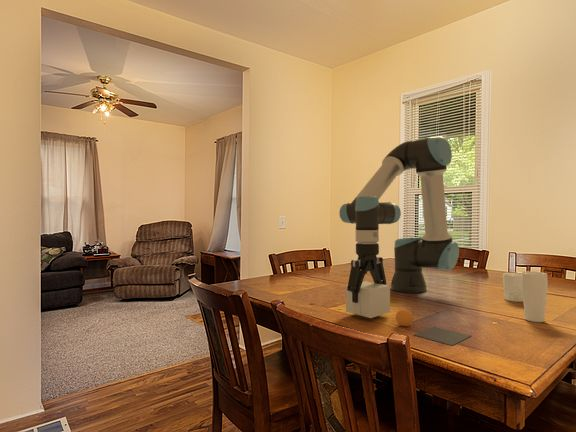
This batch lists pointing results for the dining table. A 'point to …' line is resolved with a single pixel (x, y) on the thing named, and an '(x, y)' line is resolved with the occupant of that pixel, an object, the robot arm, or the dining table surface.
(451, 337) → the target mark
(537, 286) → the drinking glass
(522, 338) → the dining table surface
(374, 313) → the pale grey cube
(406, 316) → the ball
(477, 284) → the dining table surface
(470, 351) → the dining table surface
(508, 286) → the white cup
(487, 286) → the dining table surface
